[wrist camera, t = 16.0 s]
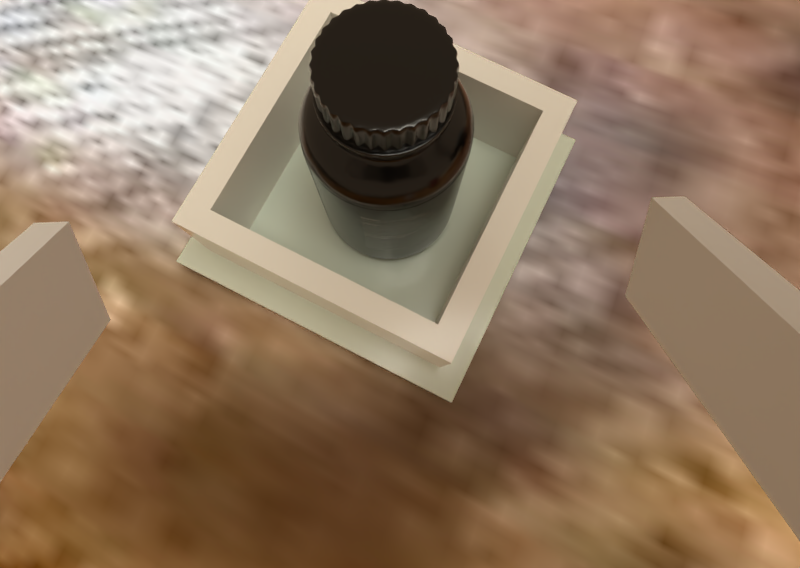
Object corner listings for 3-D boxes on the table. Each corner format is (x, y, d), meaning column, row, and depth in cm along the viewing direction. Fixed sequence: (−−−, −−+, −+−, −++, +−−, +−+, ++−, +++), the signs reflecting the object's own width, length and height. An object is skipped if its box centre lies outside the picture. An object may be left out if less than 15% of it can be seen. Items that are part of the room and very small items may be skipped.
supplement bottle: (471, 171, 28) (529, 19, 16) (420, 282, 27) (442, 204, 15) (358, 122, 29) (335, -60, 17) (302, 229, 28) (236, 113, 16)
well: (325, 38, 31) (309, -50, 25) (566, 151, 30) (614, 89, 24) (187, 267, 28) (129, 233, 22) (448, 401, 27) (466, 406, 21)
